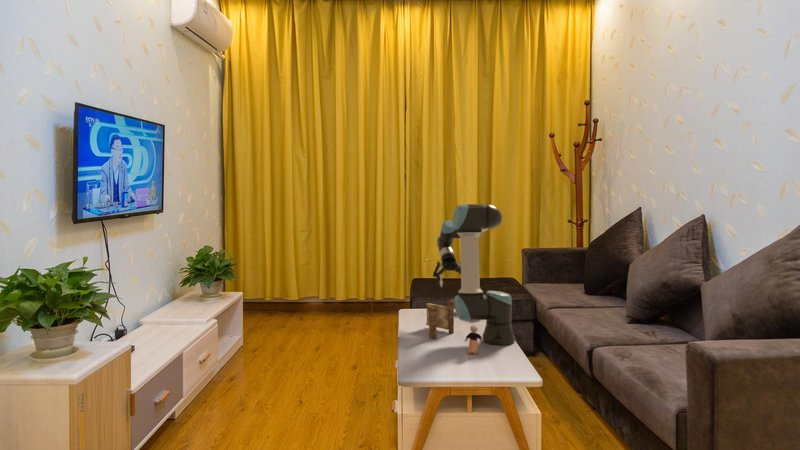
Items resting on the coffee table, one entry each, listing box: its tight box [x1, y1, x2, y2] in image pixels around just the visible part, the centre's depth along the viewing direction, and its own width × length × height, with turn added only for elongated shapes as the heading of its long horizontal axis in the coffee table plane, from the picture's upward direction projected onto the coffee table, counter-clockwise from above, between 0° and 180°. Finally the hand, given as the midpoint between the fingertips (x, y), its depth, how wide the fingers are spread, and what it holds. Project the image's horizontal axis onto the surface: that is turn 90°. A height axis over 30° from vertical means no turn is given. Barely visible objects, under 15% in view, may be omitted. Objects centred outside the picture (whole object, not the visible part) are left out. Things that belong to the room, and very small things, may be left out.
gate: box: [425, 303, 449, 331], centre depth 265 cm, size 14×2×11 cm, turn 49°
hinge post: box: [447, 298, 455, 335], centre depth 259 cm, size 3×3×17 cm
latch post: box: [428, 307, 438, 340], centre depth 249 cm, size 3×3×15 cm
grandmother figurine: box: [464, 324, 484, 355], centre depth 226 cm, size 8×4×13 cm, turn 89°
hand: (455, 285), depth 263 cm, fingers open, 13 cm apart
